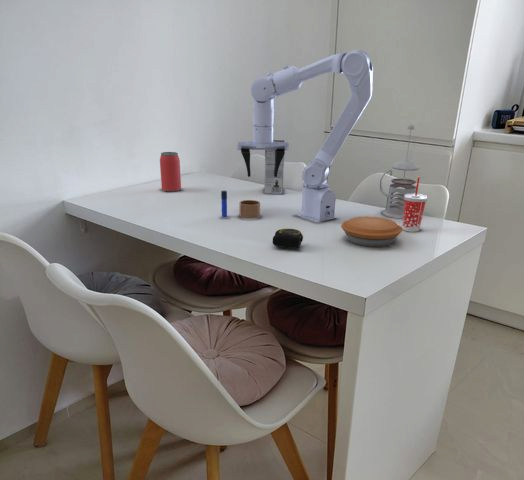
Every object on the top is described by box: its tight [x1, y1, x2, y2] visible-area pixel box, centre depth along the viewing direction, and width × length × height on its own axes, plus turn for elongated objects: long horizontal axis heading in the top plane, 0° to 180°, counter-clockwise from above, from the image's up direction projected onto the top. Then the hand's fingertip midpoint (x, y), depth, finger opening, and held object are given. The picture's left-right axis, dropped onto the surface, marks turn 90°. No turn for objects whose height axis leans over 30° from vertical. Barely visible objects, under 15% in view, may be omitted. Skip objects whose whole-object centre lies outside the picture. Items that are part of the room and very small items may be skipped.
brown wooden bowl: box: [238, 199, 261, 219], centre depth 156 cm, size 6×6×4 cm
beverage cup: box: [401, 176, 428, 233], centre depth 146 cm, size 6×6×14 cm
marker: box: [220, 190, 228, 218], centre depth 154 cm, size 2×2×8 cm
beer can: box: [159, 151, 182, 193], centre depth 182 cm, size 7×7×12 cm
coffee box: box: [264, 139, 286, 195], centre depth 183 cm, size 9×6×16 cm
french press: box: [379, 124, 421, 219], centre depth 157 cm, size 10×12×25 cm
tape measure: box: [272, 228, 304, 250], centre depth 133 cm, size 7×7×4 cm
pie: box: [340, 215, 404, 248], centre depth 138 cm, size 16×16×5 cm
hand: (262, 176), depth 157 cm, fingers open, 7 cm apart
